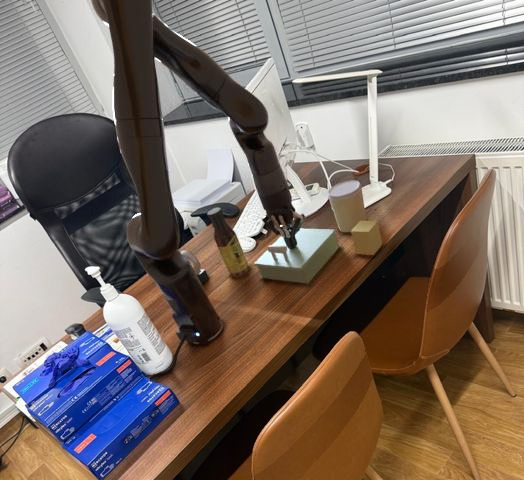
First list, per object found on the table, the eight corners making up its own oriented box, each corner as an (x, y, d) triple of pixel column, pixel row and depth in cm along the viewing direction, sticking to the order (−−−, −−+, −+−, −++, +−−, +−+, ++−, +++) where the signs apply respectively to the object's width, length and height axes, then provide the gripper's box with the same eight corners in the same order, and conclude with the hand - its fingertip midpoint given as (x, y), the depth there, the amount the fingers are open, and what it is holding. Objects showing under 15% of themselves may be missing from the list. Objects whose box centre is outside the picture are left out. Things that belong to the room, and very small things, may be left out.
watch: (195, 276, 141) (179, 246, 135) (213, 278, 136) (197, 247, 130) (183, 287, 139) (167, 257, 132) (201, 289, 134) (185, 258, 127)
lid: (301, 270, 112) (295, 253, 109) (254, 265, 122) (248, 250, 119) (335, 232, 120) (331, 215, 117) (289, 230, 130) (284, 214, 127)
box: (308, 285, 116) (302, 268, 113) (263, 279, 126) (256, 264, 123) (340, 249, 124) (335, 232, 120) (295, 246, 134) (289, 230, 130)
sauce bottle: (248, 276, 130) (220, 214, 118) (228, 280, 132) (200, 220, 120) (252, 264, 135) (226, 203, 122) (233, 268, 137) (206, 208, 125)
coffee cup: (374, 217, 130) (366, 178, 122) (362, 235, 125) (352, 195, 118) (345, 218, 135) (335, 181, 128) (331, 236, 130) (321, 198, 123)
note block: (374, 257, 115) (368, 231, 111) (356, 256, 118) (350, 231, 114) (382, 246, 117) (377, 220, 113) (365, 245, 121) (359, 220, 116)
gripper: (243, 195, 112) (266, 254, 123) (284, 194, 104) (305, 257, 115) (260, 180, 116) (281, 238, 126) (302, 177, 107) (320, 240, 118)
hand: (293, 247), depth 121 cm, fingers closed
